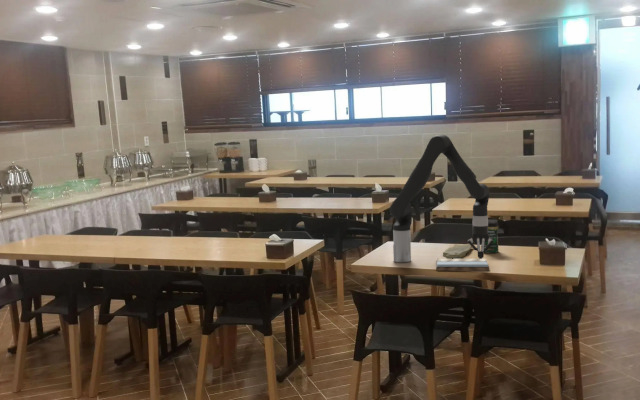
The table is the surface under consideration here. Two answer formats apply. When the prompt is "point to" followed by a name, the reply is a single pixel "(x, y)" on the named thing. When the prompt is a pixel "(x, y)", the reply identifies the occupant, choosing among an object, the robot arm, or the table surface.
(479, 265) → the tilted plank
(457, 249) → the stone slab
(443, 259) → the floor board
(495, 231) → the coffee jar
